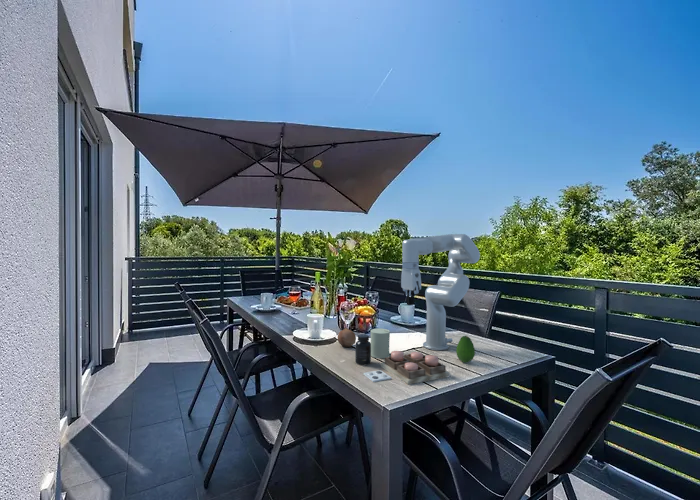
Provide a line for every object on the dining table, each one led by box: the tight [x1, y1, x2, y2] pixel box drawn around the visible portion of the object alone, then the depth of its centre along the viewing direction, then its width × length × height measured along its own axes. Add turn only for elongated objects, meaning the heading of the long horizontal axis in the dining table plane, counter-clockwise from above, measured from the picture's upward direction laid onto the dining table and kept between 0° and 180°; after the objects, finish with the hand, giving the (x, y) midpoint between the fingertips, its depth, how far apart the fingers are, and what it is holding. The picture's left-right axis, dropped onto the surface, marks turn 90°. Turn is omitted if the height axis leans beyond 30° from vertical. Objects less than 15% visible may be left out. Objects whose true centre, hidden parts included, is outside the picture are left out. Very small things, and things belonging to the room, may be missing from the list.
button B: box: [425, 354, 439, 366], centre depth 138 cm, size 5×5×3 cm
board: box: [380, 353, 450, 385], centre depth 140 cm, size 20×20×4 cm
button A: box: [410, 351, 424, 360], centre depth 147 cm, size 5×5×3 cm
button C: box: [390, 350, 405, 361], centre depth 143 cm, size 5×5×3 cm
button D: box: [405, 362, 418, 371], centre depth 134 cm, size 5×5×3 cm
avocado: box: [455, 335, 476, 364], centre depth 152 cm, size 8×8×12 cm
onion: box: [337, 327, 357, 348], centre depth 172 cm, size 10×9×10 cm
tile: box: [363, 369, 392, 383], centre depth 134 cm, size 8×8×1 cm
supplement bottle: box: [354, 333, 372, 366], centre depth 149 cm, size 7×7×12 cm
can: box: [370, 327, 391, 359], centre depth 160 cm, size 9×9×12 cm
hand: (410, 304), depth 160 cm, fingers closed
